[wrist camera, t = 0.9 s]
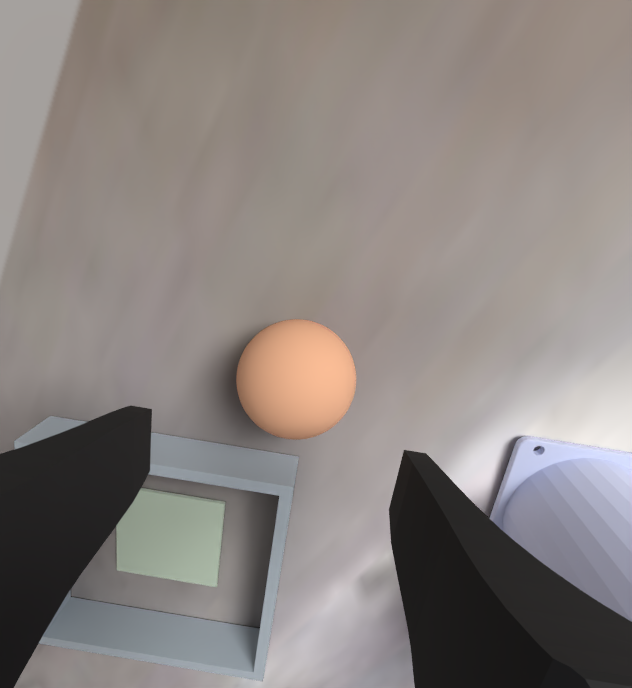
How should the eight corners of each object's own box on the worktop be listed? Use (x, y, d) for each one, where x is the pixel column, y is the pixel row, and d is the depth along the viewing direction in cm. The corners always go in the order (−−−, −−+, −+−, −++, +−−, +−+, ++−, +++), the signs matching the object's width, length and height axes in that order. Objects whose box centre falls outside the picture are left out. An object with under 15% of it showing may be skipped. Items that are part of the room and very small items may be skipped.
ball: (363, 316, 19) (370, 352, 14) (344, 413, 20) (345, 474, 16) (256, 299, 19) (227, 328, 14) (245, 397, 20) (216, 452, 16)
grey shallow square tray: (298, 456, 21) (293, 487, 19) (270, 637, 25) (262, 681, 23) (50, 415, 21) (13, 441, 19) (61, 602, 25) (33, 642, 23)
